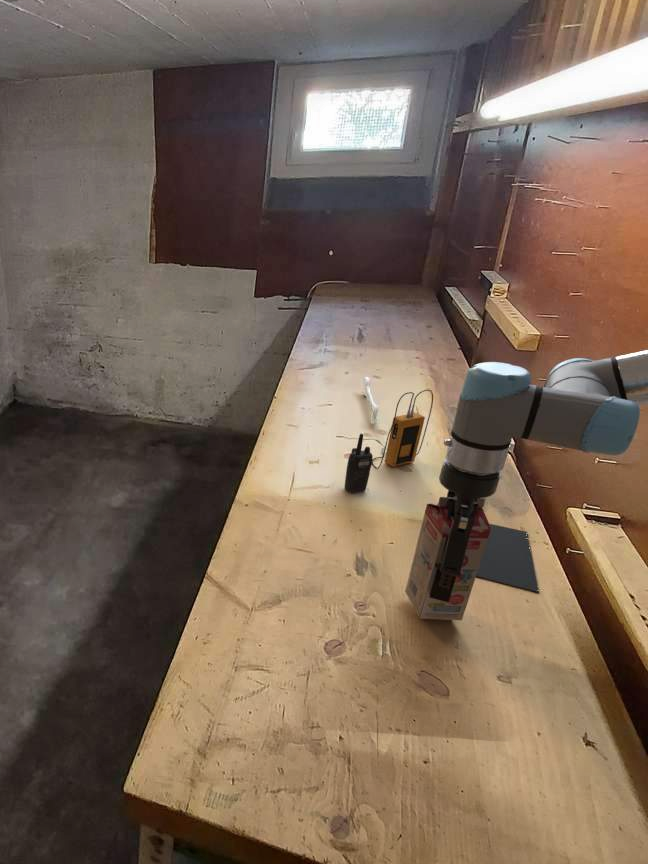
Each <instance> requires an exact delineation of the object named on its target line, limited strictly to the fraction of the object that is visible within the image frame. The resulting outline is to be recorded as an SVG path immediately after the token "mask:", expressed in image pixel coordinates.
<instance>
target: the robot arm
mask: <svg viewBox="0 0 648 864" xmlns="http://www.w3.org/2000/svg"><path fill="white" fill-rule="evenodd" d="M531 378H532V375H531V372H530V371H529V370H527V369H526V368H524V367H522V366H520V365H513V364H511V363H507V362H500V361H499V362H497V361H485V362H480V363H477V364H474V365H473V366H472V367H470V368H469V369H468V371H467V372H466V375H465V379H464V382H463V385H462V388H461V392H460V393H459V397H458V403H457V406H456V411H455V415H454V420H453V422H452V427H451V432H450V435H449V436H450V437H449V439H444V440H443V445H444V446H445V447H447V448H446V451H445V459H443V461H442V467H441V469H440V474H439V477H438V478H439V480H438V481H439V483H440V484H441V486H442V487H443V488H445V490H447V493H446V497H455V498H454V499H453V498H448V502H447V508H448V512H447V519H448V520H450V519H451V514H452V517H453V522H452V525H451V529H450V533H449V536H447V538H446V542H445V545H444V549H443V553H442V557H441V562H440V563H435V564H434V567H436V568H437V570H436V574H435V577H434V581H433V584H432V588H431V592H430V598H433V599H437V600H441V601H444V602H448V603H449V600H450V596H451V593H452V590H453V586H454V583H455V580H456V576H458V577H459V576H460V574H461V568H462V564H463V560H464V556H465V552H466V548H467V544H468V540H469V536H470V533H471V530H472V527H473V524H474V523H475V521H474V520H475V519H474V515H475V514H476V513H477V509H478V503H474V500H475V502H477V499H478V498H484V499H485V498H489V497H492V496H493V495H494V494H495V493H496V491H497V489H498V485H499V482H500V479H501V475H502V473H501V471H503V470H504V467H505V464H506V461H507V458H508V456H509V455H508V454H509V451H510V448H511V442H512V439H513V438H517V439H523V440H528V441H533V442H537V443H538V442H539V443H543V444H548V445H552V446H557V447H562V448H567V449H571V450H576V451H581V452H583V453H586V454H597V455H598V454H599V455H605V456H612V457H613V456H614V457H616V456H620V455H622V454H624V453H625V452H626V451H627V450H628V448H629V447H630V446H631V443H632V441H633V439H634V437H635V434H636V432H637V429H638V425H639V422H640V417H641V408H640V406H644V405H648V349H646V350H642V351H637V352H632V353H628V354H623V355H618V356H614V357H613V356H612V357H609V358H607V357H606V358H602V359H597V360H593V359H589V358H584V357H575V358H570V359H566V360H564V361H562V362H560V363H557V364H556V365H555V366H554V367H553V368H552V369H551V370H550V372H549V373H548V376H547V377H546V379H545V380H544V385H543V386H541V385H535V384H532V381H531Z"/></svg>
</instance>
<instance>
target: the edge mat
mask: <svg viewBox="0 0 648 864" xmlns="http://www.w3.org/2000/svg"><path fill="white" fill-rule="evenodd" d="M489 525H490V527H491V530H490V533H489V537H488V540H487V543H486V546H485V549H484V552H483V555H482V559H481V562H480V565H479V568H478V571H477V574H476V577H475V578H480V579H482V580H487V579H488V580H487V581H490V580H491V582H494V581H495V583H498V584H502V585H506V586H510V587H514V588H518V589H521V588H522V589H523V590H525V589H526V591H529V590H531V591H530V592H533V591H535V592H534V593H537V592H539V593H540V590H539V585H538V579H537V575H535V574H536V569H535V564H534V559H533V555H532V554H533V553H532V549H531V545H530V546H529V544H530V539H529V534H526V533H528V531H525V530H521V529H517V528H516V529H515V528H511V527H507V526H502V525H497V524H493V523H489ZM526 535H527V536H526ZM526 538H528V539H529V540H528V539H526ZM528 541H529V543H528ZM529 547H530V549H529ZM530 550H531V551H530ZM537 586H538V587H537ZM522 589H521V590H522ZM537 590H539V591H537ZM536 591H537V592H536Z"/></svg>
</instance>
